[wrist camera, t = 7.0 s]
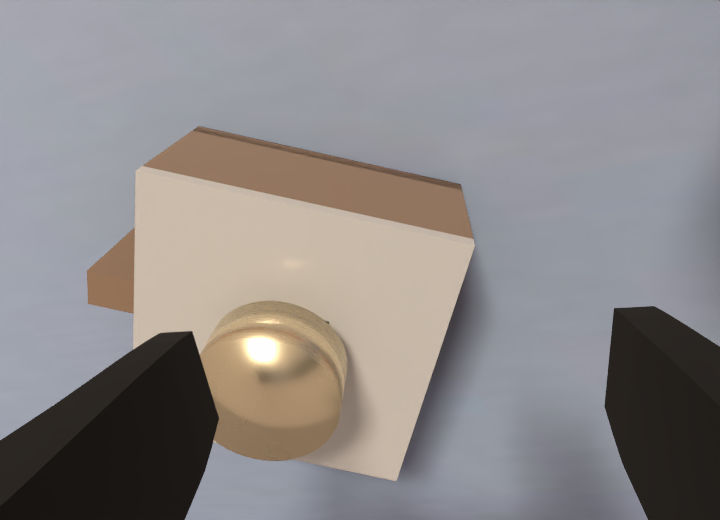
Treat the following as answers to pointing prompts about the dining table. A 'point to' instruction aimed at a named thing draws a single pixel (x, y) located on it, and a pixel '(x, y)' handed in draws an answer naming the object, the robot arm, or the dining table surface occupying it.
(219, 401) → the plunger
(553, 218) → the dining table surface
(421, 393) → the tan box
